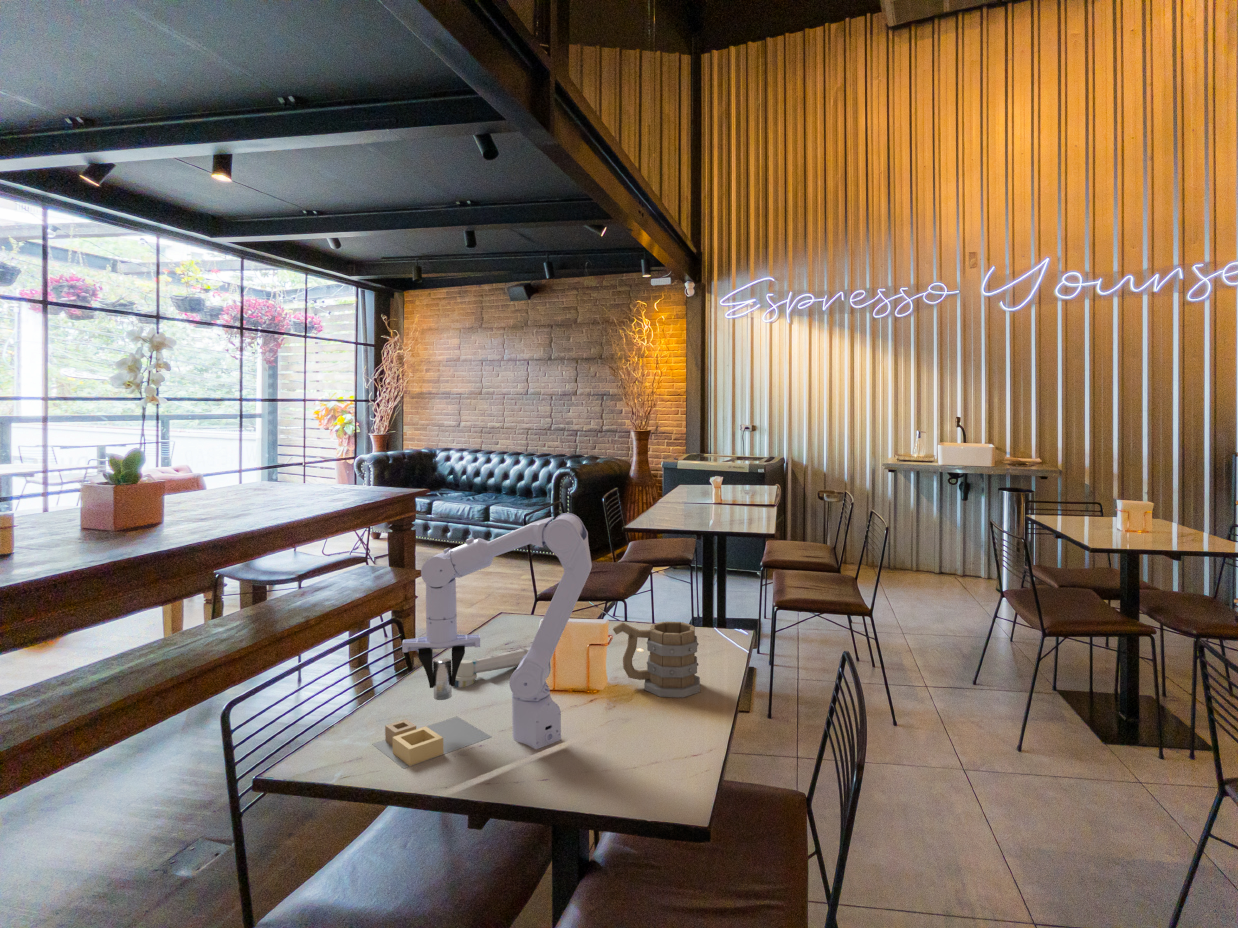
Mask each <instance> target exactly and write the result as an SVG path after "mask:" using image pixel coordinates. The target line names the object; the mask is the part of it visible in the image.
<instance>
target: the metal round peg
mask: <svg viewBox="0 0 1238 928" xmlns="http://www.w3.org/2000/svg"><path fill="white" fill-rule="evenodd" d="M451 674H452V659H450V658H444V657H443V658H437V659H434V660H433V682H434V687H433V700H436V701H446V700H448V699H451V698H452V697H453V693H452V692H453V691H452V690H453V688H452V687H453V686H451Z"/></svg>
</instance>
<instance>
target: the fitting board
mask: <svg viewBox="0 0 1238 928" xmlns="http://www.w3.org/2000/svg"><path fill="white" fill-rule="evenodd" d="M384 728H385V729H384V731H385V732H384V736H385V739H383V740H380V741H377V742H374V743H371V745H372V746H373V747H375V748H376V749H378V751H380V752H381V753H382V754H384V755H385V756H386V757H388V758H389V759H390V760H391V761H393V762H394V763H395V764H396V765H398V766H399V767H401V768H402V769H403V770H404V769H408V768H410V767H414V766H416V765H419V764H422V763H424V762H428V761H430V760H432V759H435V758H437V757H442V756H444V755H446V754H449V753H451V752H454V751H458V750H461V749H462V748H463V749H464V748H467V747H469V746H471V745H474V744H477V743H479V742H483V741H485V740H488V739H490V738H492V736H491V735H490V734H488V733H486V732H484V731H483V730H481V729H479V728H477V726H474V725H473V724H471V723H469V722H468V721H466V720H464V719H462V718H461V717H459V716H454V717H450V718H448V719H444V720H441V721H439V722H435V723H432V724H429V725H426V726H422V727H419V728H417V725H416V724H415V723H413V722H411V721H409V720H408V718H407V719H406V718H404V719H402V720H399V721H396V722H392V723H390V724H386V725H385V726H384Z"/></svg>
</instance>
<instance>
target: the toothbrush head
mask: <svg viewBox="0 0 1238 928" xmlns="http://www.w3.org/2000/svg"><path fill="white" fill-rule="evenodd" d="M529 649H530V647H526V648H524V647H520V648H519V649H516V650H515V649H514V650H512V651H506V652H502V653H498V654H494V655H490V656H489V655H488V656H485V657H482V658H477V659H473V660H470V659H462V661H461V663H460V666H459V668H458V672H457V675H456V680H455V686H452V687H453V688H465V687H469V686H472V685H473V684H474V683H475V682H476V681H475V680H476V679H477V676H478V673H485V672H492V671H496V670H502V669H508V668H514V667H518V666H519V664H520V661H521V659H522V658H523V657H524V656H525V655H526V654H527V653H528V651H529ZM451 676H452V673H451Z"/></svg>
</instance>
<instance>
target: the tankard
mask: <svg viewBox="0 0 1238 928" xmlns="http://www.w3.org/2000/svg"><path fill="white" fill-rule="evenodd" d="M695 627H696V626H694V625H692V624H689V623H687V622H683V621H682V622H681V621H661V622H657V623H652V624H651V625H650V629H639V628H636V627H633V626H631V625H629V624H627V623H625V622H623V621H622V622H621V623H619V624H617V625H615V626H613V628H612V630H613V632H614V634H615V635H618V634H620V633H622V632H623V633H625V634H626V635H627V636H628V637H627V638H628V639H627V646H626V649H625V651H624V653H623V654H624V655H623V658H622V668H623V670H624V672H625V673H626V675H627V677H628V678H629V679H633V680H638V681H643V680H644V686H643V687H644V691H646V692H648V693H650V694H653V695H655V696H657V697H660V698H677V699H678V698H679V699H684V698H686V697H689V696H693V695H695V694H698V693H701V679H700V676H698V675H697V674H698V667H699V663H698V656H696V654H695V653H697V652H698V646H699V642H698V636H697V635H695V634H696V633H695V632H696V630H695ZM638 638H640V639H641V638H642V639H647V641H646V645H647V646H646V647H647V649H646V650H647V651H648V652H649V655H648V658H647V661H646V665H647V668H646V669H641V670H640V669H636V668H634V665H633V658H634V656H635V653H636V650H637V645H638Z"/></svg>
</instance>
